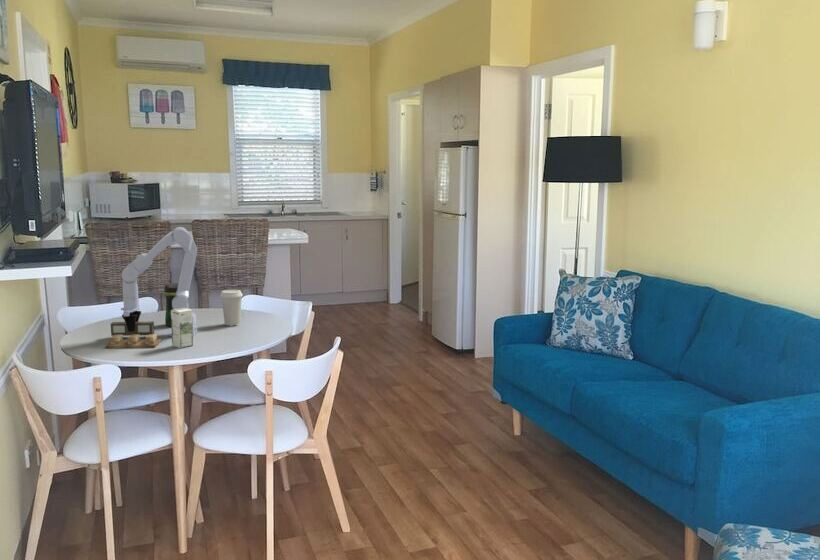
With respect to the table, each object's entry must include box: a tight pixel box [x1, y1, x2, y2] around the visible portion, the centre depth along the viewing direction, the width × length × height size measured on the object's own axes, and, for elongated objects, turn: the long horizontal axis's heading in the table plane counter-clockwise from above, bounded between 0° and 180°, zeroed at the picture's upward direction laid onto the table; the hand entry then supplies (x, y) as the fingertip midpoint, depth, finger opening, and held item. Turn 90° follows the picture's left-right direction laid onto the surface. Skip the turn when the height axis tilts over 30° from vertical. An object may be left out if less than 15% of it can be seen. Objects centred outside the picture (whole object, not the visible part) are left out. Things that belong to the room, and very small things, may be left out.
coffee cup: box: [219, 289, 244, 326], centre depth 301 cm, size 10×10×15 cm
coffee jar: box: [163, 282, 179, 327], centre depth 299 cm, size 10×8×19 cm
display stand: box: [105, 333, 162, 349], centre depth 265 cm, size 18×10×4 cm, turn 95°
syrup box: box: [170, 308, 194, 349], centre depth 263 cm, size 6×6×14 cm
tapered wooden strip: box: [110, 320, 155, 337], centre depth 276 cm, size 16×3×5 cm, turn 95°
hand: (132, 330), depth 277 cm, fingers closed on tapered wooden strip, 3 cm apart
